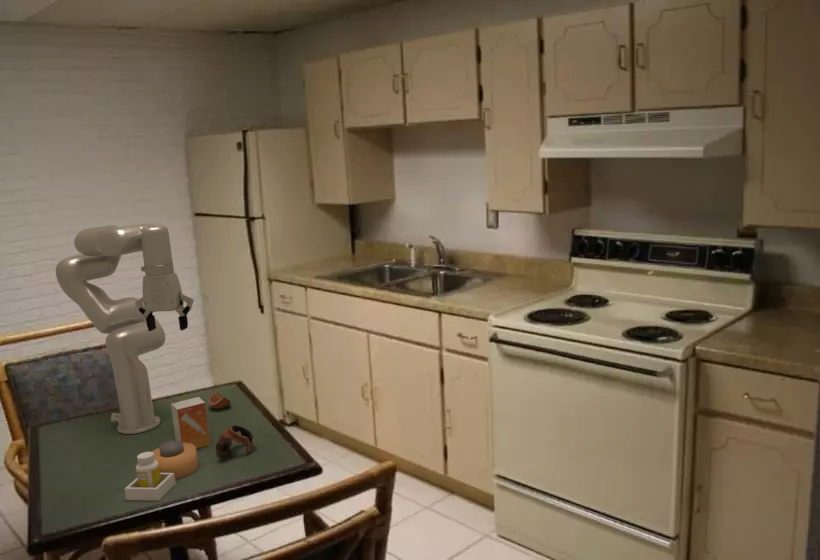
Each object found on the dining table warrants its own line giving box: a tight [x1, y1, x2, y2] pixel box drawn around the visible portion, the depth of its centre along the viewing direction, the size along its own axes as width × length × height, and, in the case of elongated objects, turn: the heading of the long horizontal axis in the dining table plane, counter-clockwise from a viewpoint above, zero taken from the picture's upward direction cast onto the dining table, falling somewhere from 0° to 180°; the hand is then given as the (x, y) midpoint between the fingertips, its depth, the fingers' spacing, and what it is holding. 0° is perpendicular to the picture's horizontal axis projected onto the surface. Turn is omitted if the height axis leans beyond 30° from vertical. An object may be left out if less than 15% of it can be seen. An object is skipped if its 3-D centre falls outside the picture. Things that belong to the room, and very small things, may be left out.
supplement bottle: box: [135, 451, 161, 488], centre depth 182 cm, size 5×5×10 cm
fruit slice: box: [207, 390, 231, 409], centre depth 237 cm, size 8×7×5 cm
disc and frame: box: [124, 439, 199, 502], centre depth 188 cm, size 12×22×7 cm, turn 170°
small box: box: [170, 396, 211, 450], centre depth 207 cm, size 8×6×13 cm
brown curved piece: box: [215, 424, 254, 458], centre depth 201 cm, size 12×10×8 cm
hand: (168, 329), depth 207 cm, fingers open, 9 cm apart
